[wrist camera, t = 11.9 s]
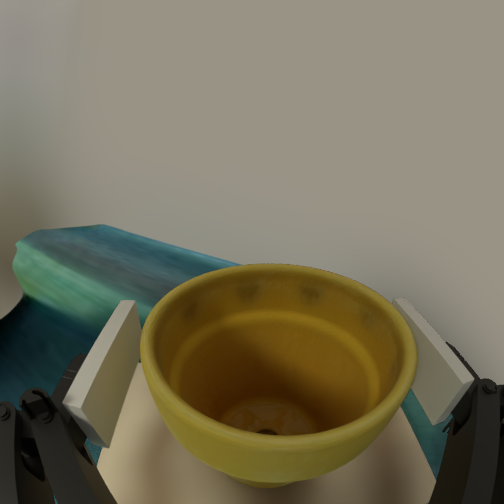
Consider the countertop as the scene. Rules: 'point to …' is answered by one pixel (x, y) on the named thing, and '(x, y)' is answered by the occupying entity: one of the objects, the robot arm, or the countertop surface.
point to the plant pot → (276, 369)
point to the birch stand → (243, 496)
